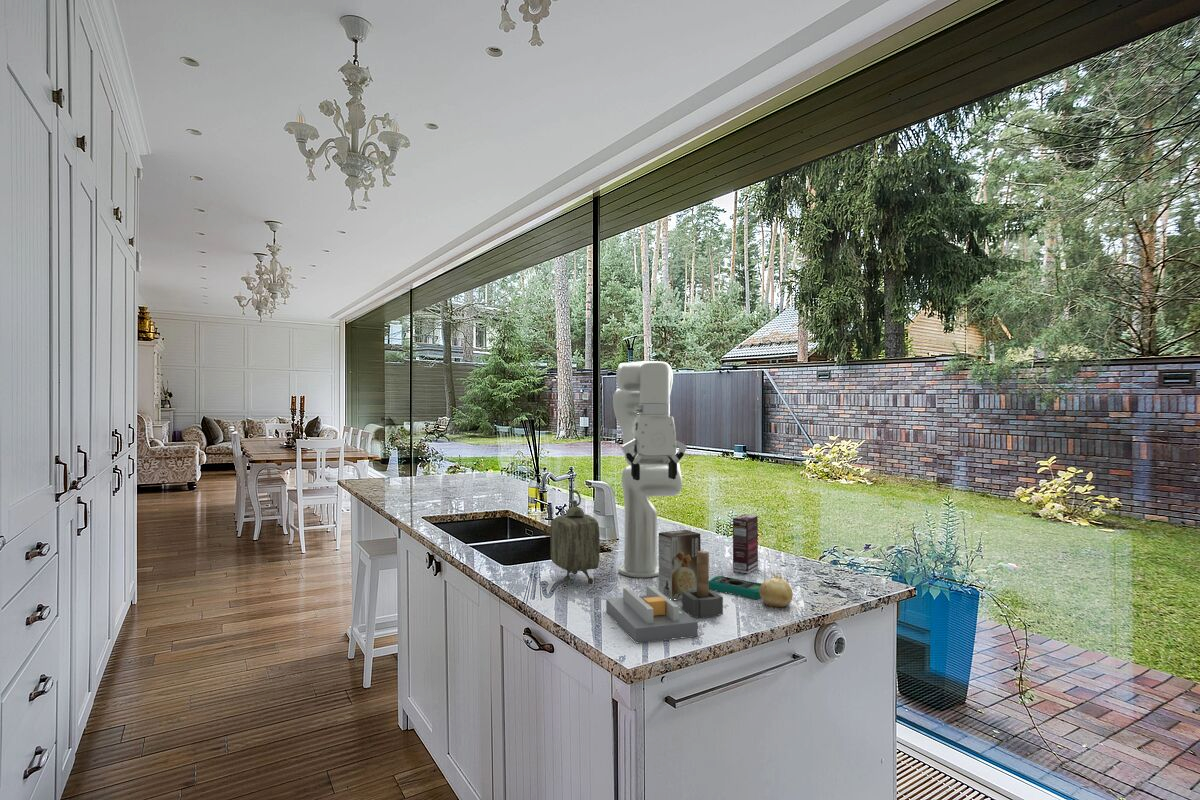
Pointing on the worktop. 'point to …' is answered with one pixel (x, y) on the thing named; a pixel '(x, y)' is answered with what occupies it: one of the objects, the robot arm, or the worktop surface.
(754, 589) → the digital multimeter
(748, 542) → the supplement box
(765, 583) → the onion
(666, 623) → the grey slider track base
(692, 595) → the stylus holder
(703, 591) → the stylus
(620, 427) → the robot arm
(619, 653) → the worktop surface
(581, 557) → the tabletop clock
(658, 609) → the breaker handle
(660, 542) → the coffee box
